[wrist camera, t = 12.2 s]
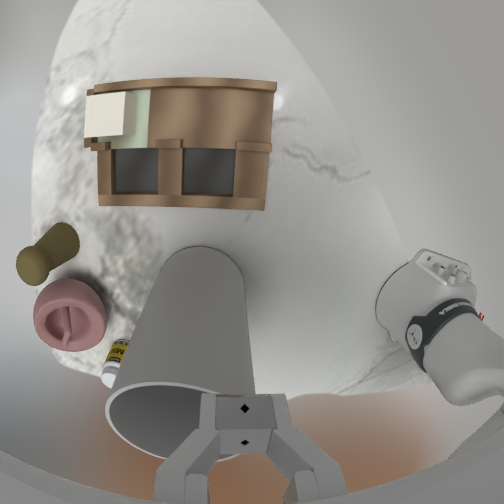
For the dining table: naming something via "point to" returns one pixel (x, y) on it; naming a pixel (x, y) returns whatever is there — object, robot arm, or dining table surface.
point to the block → (110, 114)
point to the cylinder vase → (182, 352)
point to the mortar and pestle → (69, 316)
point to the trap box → (189, 144)
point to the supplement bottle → (113, 362)
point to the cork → (47, 254)
